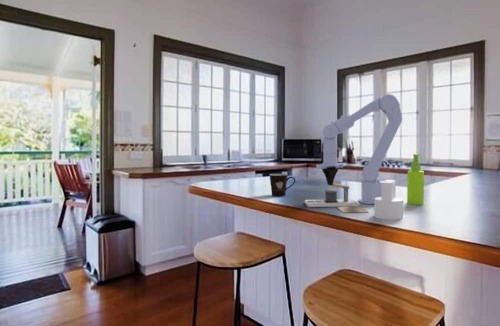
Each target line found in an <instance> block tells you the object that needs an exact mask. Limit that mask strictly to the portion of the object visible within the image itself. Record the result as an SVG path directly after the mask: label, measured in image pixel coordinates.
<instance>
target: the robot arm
mask: <svg viewBox="0 0 500 326" xmlns="http://www.w3.org/2000/svg"><path fill="white" fill-rule="evenodd" d="M400 105H401V104H400V102H399V100H398V99H397V96H395V95H393V94H389V93H388V94H385V95H383V96H382V97H379V98H377V99H375V100H372V101H370V102H369V103H367V104H366V105H364V106H363V107H362V108H359V109H358V110H357V111H356V112H354V113H351V114H342V115H340V118H338V119H336V120H334V121H331V122H330V124H327V125H326V126H324V128H323V129H322V135H323V151H322V152H323V156H322V157H323V161H322V163H319V164H316V165H315V167H316V168H315V169H316V170H322V172H323V174H324V177H325V179H326V183H327V184H326V185H327V186H331V185H333V183H334V180H335V178H336V176H337V173H338V172H339V168H344V163H343V162H338V142H337V141H338V138H337V137H338V135H339V134H340V135H341V134H343V133H344V132H346V131H348V130H349V129H351V128H352V127H354V126H355V122H357V121H359V120H360V119H362V118H364V117H365V116H367V115H369V114H371V113H373V112H375V113H376V112H379V113H380V111H382V112H383V113H384V115H385V116H386V118H387V121H388V123H387V125H386V126H385V129H384V131H383V133H382V134H381V137H380V139H379V141H378V143H377V146H376V147H375V150H374V151H373V153H372V155H371V158H370V159H369V162H368V163H367V164H366V165H364V168H363V169H362V174H361V175H362V177H363V178H362V179H361V181H360V182H361V186H360V187H361V192H360V193H361V199H357V202H360V203H362V204H363V205H369V204H370V205H372V204H374V199H375V198H377V197H382V182H384V181H385V180H381V179H379V177H380V176H379V175H380V173H379V171H380V168H381V166H382V163H383V161H384V160H385V159H384V158H385V157H386V155H387V153H388V151H389V148H390V146H391V145H392V143H393V141H394V139H395V137H396V135H397V132H398V131H399V128H400V126H401V123H402V122H403V117H402V116H403V115H402V112H401V106H400Z"/></svg>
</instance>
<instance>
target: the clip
mask: <svg viewBox="0 0 500 326" xmlns="http://www.w3.org/2000/svg"><path fill="white" fill-rule="evenodd" d="M330 186H332V187H337V188H341V189H343V190H344V189H348V190H349V189H350V185H344V184H343V185H342V184H339V183H334V182H333V185H330Z"/></svg>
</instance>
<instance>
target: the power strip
mask: <svg viewBox="0 0 500 326" xmlns="http://www.w3.org/2000/svg"><path fill="white" fill-rule="evenodd" d="M304 204H305V205H306V206H307V207H308V208H312V207H313V208H317V207H318V208H320V207H321V208H322V207H325V208H326V207H327V208H328V207H330V208H331V207H333V208H334V207H336V208H337V207H360V203H359V201H356V200H355V199H353V198H349V189H343V198H341V199H340V198H339V199H338V198H337V203H326V199H305V200H304Z"/></svg>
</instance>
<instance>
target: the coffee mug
mask: <svg viewBox="0 0 500 326" xmlns="http://www.w3.org/2000/svg"><path fill="white" fill-rule="evenodd" d="M290 179H293V183H292V184H290V185H289V186H288V187H287V182H288V181H289V180H290ZM269 182H270V189H271V191H270V192H271V196H273V197H285V196H286V194H287V193H286V191H287V190H288V189H289V188H291V187H293V185H295V183H296V178H294V176H289V177H288V174H287V173H270V174H269Z"/></svg>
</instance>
